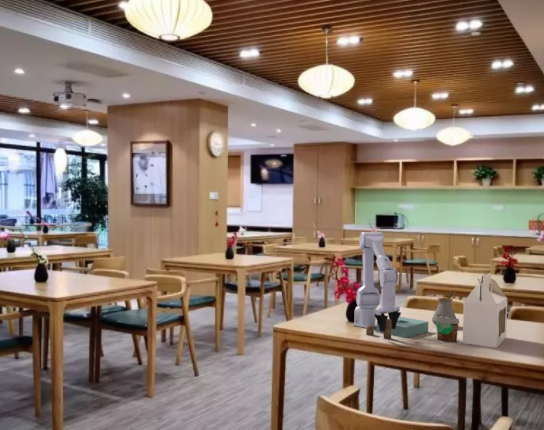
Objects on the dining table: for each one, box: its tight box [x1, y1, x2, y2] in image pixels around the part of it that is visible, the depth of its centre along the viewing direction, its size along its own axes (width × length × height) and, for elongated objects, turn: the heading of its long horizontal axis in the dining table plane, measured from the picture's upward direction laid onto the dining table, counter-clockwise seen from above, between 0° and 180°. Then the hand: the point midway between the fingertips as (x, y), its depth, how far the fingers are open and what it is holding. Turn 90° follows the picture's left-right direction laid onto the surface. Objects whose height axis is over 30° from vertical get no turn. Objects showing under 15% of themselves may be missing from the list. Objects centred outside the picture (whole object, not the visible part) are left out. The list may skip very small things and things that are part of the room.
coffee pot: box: [431, 290, 457, 327], centre depth 273 cm, size 21×12×15 cm, turn 149°
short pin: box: [365, 325, 375, 337], centre depth 249 cm, size 3×3×4 cm
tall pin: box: [383, 318, 392, 340], centre depth 243 cm, size 3×3×8 cm
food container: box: [435, 314, 460, 343], centre depth 241 cm, size 12×6×10 cm, turn 21°
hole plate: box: [376, 316, 429, 339], centre depth 256 cm, size 15×18×4 cm
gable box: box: [462, 272, 508, 349], centre depth 242 cm, size 22×13×28 cm, turn 148°
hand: (387, 330), depth 242 cm, fingers open, 7 cm apart
